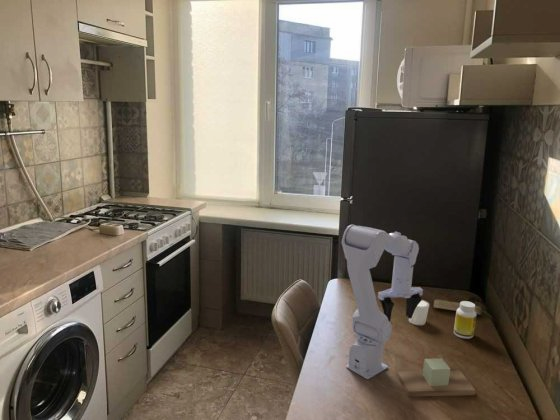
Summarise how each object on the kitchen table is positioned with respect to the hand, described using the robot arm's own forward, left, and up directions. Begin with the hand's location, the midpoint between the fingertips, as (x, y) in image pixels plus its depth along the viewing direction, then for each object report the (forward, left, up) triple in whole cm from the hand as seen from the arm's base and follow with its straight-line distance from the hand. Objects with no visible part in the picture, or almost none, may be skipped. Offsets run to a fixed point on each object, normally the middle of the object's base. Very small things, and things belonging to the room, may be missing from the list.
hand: (398, 318), depth 144 cm
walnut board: (-9, -19, -9) cm, 23 cm away
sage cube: (-9, -19, -8) cm, 22 cm away
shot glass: (+20, +5, -10) cm, 23 cm away
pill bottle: (+24, -10, -10) cm, 28 cm away
